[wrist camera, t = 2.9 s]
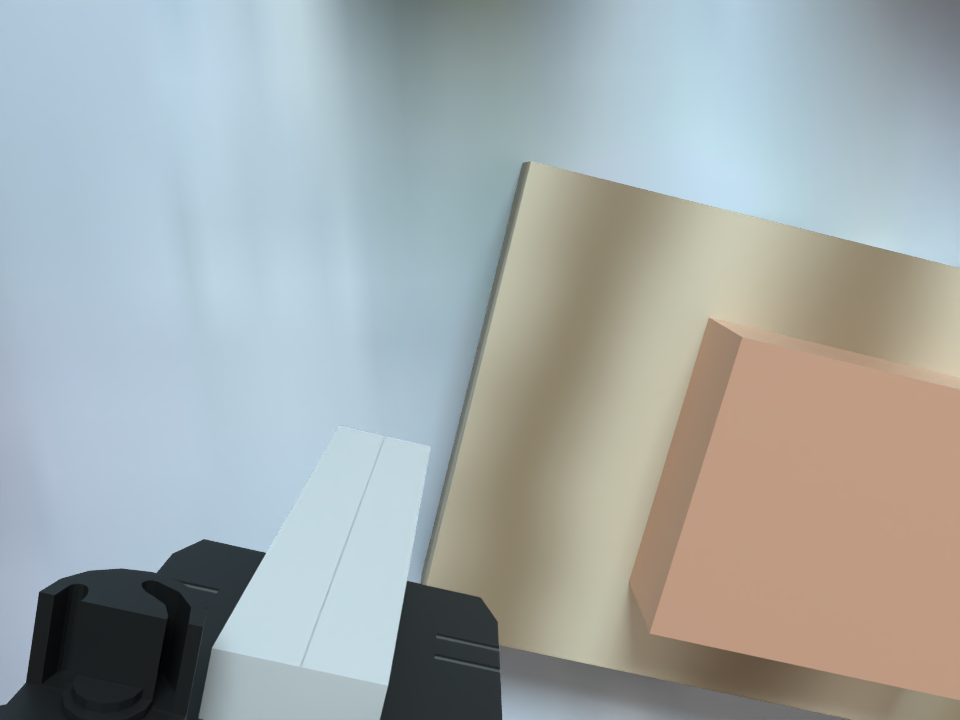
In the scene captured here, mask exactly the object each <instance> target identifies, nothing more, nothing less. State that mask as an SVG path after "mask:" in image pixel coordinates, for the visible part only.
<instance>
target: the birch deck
mask: <svg viewBox="0 0 960 720" xmlns="http://www.w3.org/2000/svg"><path fill="white" fill-rule="evenodd" d="M709 317H710V318H714V319H718V320H722V321H726V322H731V323H735V324H739V325H743V326H747V327H751V328H756V329H760V330H764V331H768V332H772V333H776V334H781V335H785V336H789V337H793V338H797V339H801V340H805V341H810V342H814V343H818V344H822V345H826V346H830V347H835V348H839V349H843V350H847V351H851V352H855V353H859V354H864V355H868V356H872V357H876V358H880V359H884V360H889V361H893V362H897V363H901V364H905V365H909V366H913V367H918V368H922V369H926V370H930V371H934V372H938V373H943V374H947V375H951V376H955V377H959V378H960V268H957V267H953V266H949V265H945V264H941V263H937V262H933V261H929V260H925V259H921V258H917V257H913V256H909V255H905V254H901V253H897V252H893V251H889V250H885V249H881V248H877V247H873V246H869V245H865V244H861V243H857V242H853V241H849V240H845V239H841V238H837V237H833V236H829V235H825V234H821V233H817V232H813V231H809V230H805V229H801V228H797V227H793V226H789V225H785V224H781V223H777V222H773V221H769V220H765V219H761V218H757V217H752V216H748V215H744V214H740V213H736V212H732V211H728V210H724V209H720V208H716V207H712V206H708V205H704V204H700V203H696V202H692V201H688V200H684V199H680V198H676V197H672V196H668V195H664V194H660V193H656V192H652V191H648V190H644V189H640V188H636V187H632V186H628V185H624V184H620V183H616V182H612V181H608V180H604V179H600V178H596V177H592V176H588V175H584V174H580V173H576V172H572V171H568V170H564V169H560V168H556V167H552V166H548V165H544V164H540V163H536V162H532V161H530V162H525V163H523V165H522V169H521V173H520V177H519V181H518V185H517V189H516V193H515V197H514V201H513V206H512V210H511V214H510V218H509V222H508V226H507V230H506V234H505V238H504V242H503V246H502V250H501V254H500V258H499V263H498V267H497V271H496V275H495V279H494V283H493V287H492V291H491V295H490V299H489V303H488V307H487V311H486V315H485V319H484V324H483V328H482V332H481V336H480V340H479V344H478V348H477V352H476V356H475V360H474V364H473V368H472V372H471V376H470V380H469V385H468V389H467V393H466V397H465V401H464V405H463V409H462V413H461V417H460V421H459V425H458V429H457V433H456V437H455V442H454V446H453V450H452V454H451V458H450V462H449V466H448V470H447V474H446V478H445V482H444V486H443V490H442V494H441V498H440V503H439V507H438V511H437V515H436V519H435V523H434V527H433V531H432V535H431V539H430V543H429V547H428V551H427V555H426V559H425V564H424V568H423V572H422V578H421V584H423V585H427V586H432V587H436V588H441V589H445V590H450V591H454V592H459V593H463V594H468V595H473V596H477V597H481V598H482V600H483V601H484V603H485V604H486V606H487V607H488V608H489V610H490V611H491V613H492V614H493V616H494V617H495V619H496V620H497V621H498V638H499V645H501V646H505V647H510V648H515V649H520V650H524V651H529V652H534V653H539V654H543V655H548V656H553V657H557V658H562V659H567V660H572V661H576V662H581V663H586V664H590V665H595V666H600V667H605V668H609V669H614V670H619V671H624V672H628V673H633V674H638V675H642V676H647V677H652V678H657V679H661V680H666V681H671V682H675V683H680V684H685V685H690V686H694V687H699V688H704V689H709V690H713V691H718V692H723V693H727V694H732V695H737V696H742V697H746V698H751V699H756V700H760V701H765V702H770V703H775V704H779V705H784V706H789V707H794V708H798V709H803V710H808V711H812V712H817V713H822V714H827V715H831V716H836V717H841V718H845V719H850V720H960V700H956V699H951V698H947V697H942V696H937V695H933V694H928V693H923V692H919V691H914V690H909V689H905V688H900V687H895V686H891V685H886V684H881V683H877V682H872V681H868V680H863V679H858V678H854V677H849V676H844V675H840V674H835V673H830V672H826V671H821V670H816V669H812V668H807V667H802V666H798V665H793V664H789V663H784V662H779V661H775V660H770V659H765V658H761V657H756V656H751V655H747V654H742V653H737V652H733V651H728V650H723V649H719V648H714V647H709V646H705V645H700V644H696V643H691V642H686V641H682V640H677V639H672V638H668V637H663V636H658V635H654V634H649V631H648V628H647V626H646V623H645V621H644V618H643V616H642V613H641V611H640V608H639V606H638V603H637V600H636V598H635V595H634V593H633V590H632V588H631V585H630V583H629V580H630V576H631V573H632V570H633V566H634V563H635V560H636V557H637V553H638V550H639V547H640V543H641V540H642V537H643V533H644V530H645V527H646V524H647V520H648V517H649V514H650V510H651V507H652V504H653V500H654V497H655V494H656V491H657V487H658V484H659V481H660V477H661V474H662V471H663V467H664V464H665V461H666V458H667V454H668V451H669V448H670V444H671V441H672V438H673V434H674V431H675V428H676V425H677V421H678V418H679V415H680V411H681V408H682V405H683V401H684V398H685V395H686V392H687V388H688V385H689V382H690V378H691V375H692V372H693V368H694V365H695V362H696V359H697V355H698V352H699V349H700V345H701V342H702V339H703V335H704V332H705V329H706V326H707V322H708V319H709Z"/></svg>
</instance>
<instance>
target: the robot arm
mask: <svg viewBox="0 0 960 720" xmlns="http://www.w3.org/2000/svg"><path fill="white" fill-rule="evenodd" d="M430 449H431V446H427V445H423V444H418V443H414V442H409V441H405V440H401V439H396V438H392V437H388V436H383V435H379V434H375V433H370V432H366V431H362V430H357V429H353V428H349V427H344V426H340V425H339V427H338V428H337V430H336V432H335V434H334V435H333V437H332V439H331V441H330V442H329V444H328V446H327V448H326V449H325V451H324V453H323V455H322V456H321V458H320V460H319V462H318V463H317V465H316V467H315V469H314V470H313V472H312V474H311V476H310V477H309V479H308V481H307V483H306V484H305V486H304V488H303V490H302V491H301V493H300V495H299V497H298V498H297V500H296V502H295V504H294V505H293V507H292V509H291V511H290V512H289V514H288V516H287V518H286V519H285V521H284V523H283V525H282V526H281V528H280V530H279V532H278V533H277V535H276V537H275V539H274V540H273V542H272V544H271V546H270V547H269V549H268V551H267V553H264V552H259V551H255V550H250V549H246V548H241V547H237V546H232V545H228V544H223V543H219V542H214V541H210V540H205V539H204V540H201V541H199V542H197V543H195V544H193V545H191V546H188V547H186V548H184V549H182V550H180V551H177V552H175V553H173V554H172V555H171V556H170V558H169V559H168V560H167V561H166V562H165V564H164V565H163V566H162V567H161V569H160V570H159V571H158V572H157V573H153V572H146V571H138V570H129V569H109V570H94V571H87V572H83V573H80V574H76V575H73V576H69V577H65V578H62V579H60V580H58V581H56V582H55V583H53V584H51V585H50V586H48V587H47V588H45V589H43V590H42V591H40V592H39V597H38V604H37V611H36V618H35V625H34V632H33V639H32V646H31V652H30V659H29V666H28V673H27V680H26V683H25V684H24V686H23V687H22V688H21V689H20V690H19V691H18V692H17V693H16V694H15V696H14V697H13V698H12V699H11V700H10V701H9V702H8V703H7V704H6V705H1V706H0V720H502V705H501V683H500V673H499V669H500V661H499V651H498V648H499V638H498V621H497V620H496V619H495V617H494V616H493V614H492V613H491V611H490V610H489V608H488V607H487V606H486V604H485V603H484V601H483V600H482V598H481V597H477V596H473V595H468V594H463V593H459V592H454V591H450V590H445V589H441V588H436V587H432V586H427V585H423V584H418V583H414V582H409V581H407V577H408V571H409V566H410V560H411V555H412V549H413V544H414V538H415V532H416V527H417V521H418V516H419V510H420V504H421V499H422V493H423V488H424V482H425V477H426V471H427V465H428V460H429V454H430Z"/></svg>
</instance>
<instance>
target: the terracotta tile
mask: <svg viewBox="0 0 960 720" xmlns="http://www.w3.org/2000/svg"><path fill="white" fill-rule="evenodd" d="M629 583H630V585H631V588H632V590H633V593H634V595H635V598H636V600H637V603H638V606H639V608H640V611H641V613H642V616H643V618H644V621H645V623H646V626H647V628H648V631H649V634H654V635H658V636H663V637H668V638H672V639H677V640H682V641H686V642H691V643H696V644H700V645H705V646H709V647H714V648H719V649H723V650H728V651H733V652H737V653H742V654H747V655H751V656H756V657H761V658H765V659H770V660H775V661H779V662H784V663H789V664H793V665H798V666H802V667H807V668H812V669H816V670H821V671H826V672H830V673H835V674H840V675H844V676H849V677H854V678H858V679H863V680H868V681H872V682H877V683H881V684H886V685H891V686H895V687H900V688H905V689H909V690H914V691H919V692H923V693H928V694H933V695H937V696H942V697H947V698H951V699H956V700H960V378H959V377H955V376H951V375H947V374H943V373H938V372H934V371H930V370H926V369H922V368H918V367H913V366H909V365H905V364H901V363H897V362H893V361H889V360H884V359H880V358H876V357H872V356H868V355H864V354H859V353H855V352H851V351H847V350H843V349H839V348H835V347H830V346H826V345H822V344H818V343H814V342H810V341H805V340H801V339H797V338H793V337H789V336H785V335H781V334H776V333H772V332H768V331H764V330H760V329H756V328H751V327H747V326H743V325H739V324H735V323H731V322H726V321H722V320H718V319H714V318H710V317H709V319H708V322H707V326H706V329H705V332H704V335H703V339H702V342H701V345H700V349H699V352H698V355H697V359H696V362H695V365H694V368H693V372H692V375H691V378H690V382H689V385H688V388H687V392H686V395H685V398H684V401H683V405H682V408H681V411H680V415H679V418H678V421H677V425H676V428H675V431H674V434H673V438H672V441H671V444H670V448H669V451H668V454H667V458H666V461H665V464H664V467H663V471H662V474H661V477H660V481H659V484H658V487H657V491H656V494H655V497H654V500H653V504H652V507H651V510H650V514H649V517H648V520H647V524H646V527H645V530H644V533H643V537H642V540H641V543H640V547H639V550H638V553H637V557H636V560H635V563H634V566H633V570H632V573H631V576H630V580H629Z"/></svg>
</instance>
